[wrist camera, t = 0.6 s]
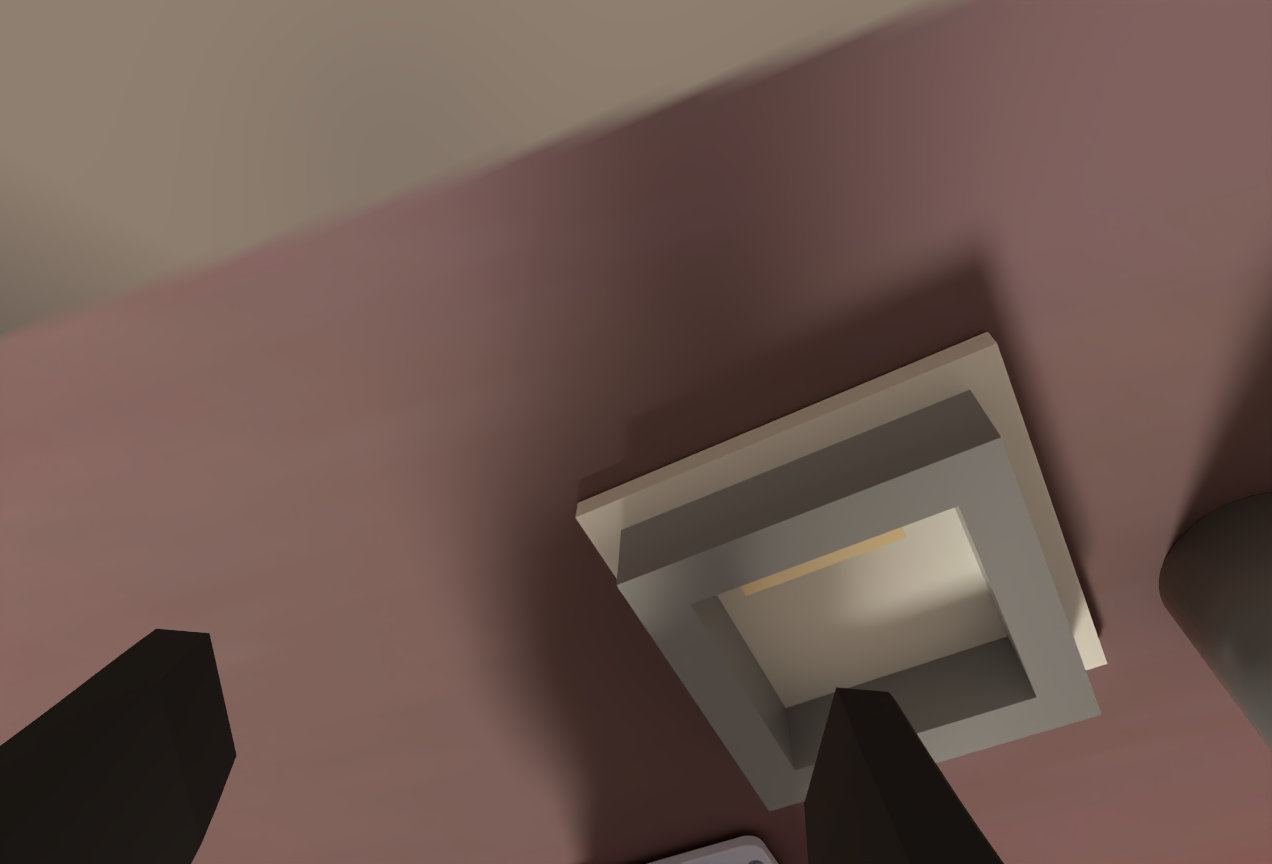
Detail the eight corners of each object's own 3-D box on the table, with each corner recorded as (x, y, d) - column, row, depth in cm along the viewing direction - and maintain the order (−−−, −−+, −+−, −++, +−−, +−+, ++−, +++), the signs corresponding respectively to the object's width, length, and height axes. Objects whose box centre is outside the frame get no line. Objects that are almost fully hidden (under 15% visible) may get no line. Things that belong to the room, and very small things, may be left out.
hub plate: (1097, 647, 23) (1144, 725, 20) (745, 756, 25) (753, 837, 23) (987, 331, 18) (1032, 387, 16) (577, 503, 21) (566, 571, 19)
